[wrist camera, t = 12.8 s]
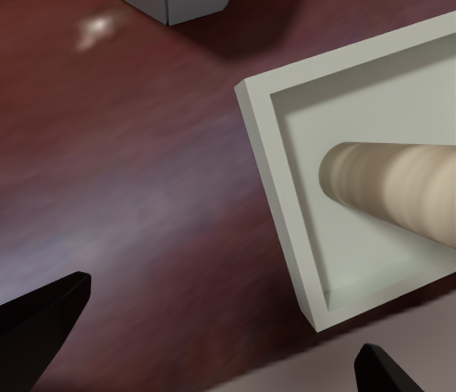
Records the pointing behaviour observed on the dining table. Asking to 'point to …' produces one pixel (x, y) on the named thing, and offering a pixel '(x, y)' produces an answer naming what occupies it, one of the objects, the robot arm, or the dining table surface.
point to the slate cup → (178, 9)
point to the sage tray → (351, 132)
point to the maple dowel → (396, 184)
